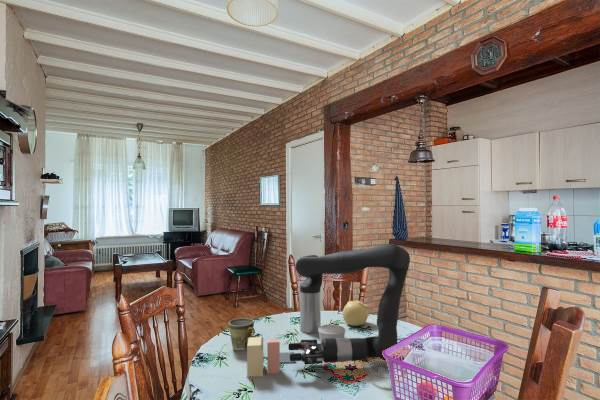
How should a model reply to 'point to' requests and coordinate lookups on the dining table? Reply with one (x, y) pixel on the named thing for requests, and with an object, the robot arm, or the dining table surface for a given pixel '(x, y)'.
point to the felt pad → (286, 357)
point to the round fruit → (355, 313)
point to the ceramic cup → (241, 332)
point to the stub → (273, 355)
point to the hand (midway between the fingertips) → (289, 351)
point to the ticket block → (255, 357)
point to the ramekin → (331, 331)
